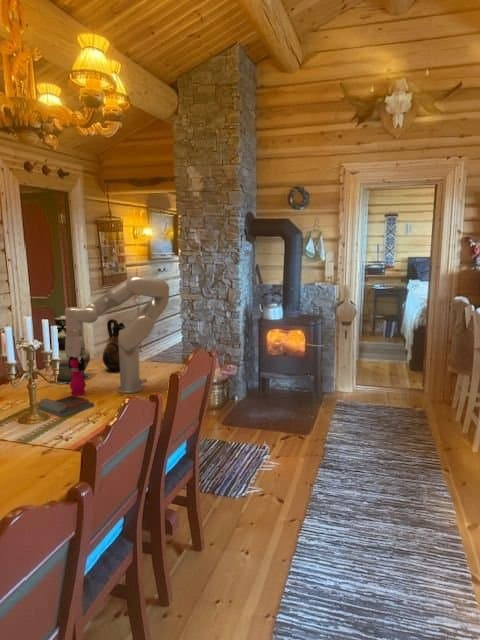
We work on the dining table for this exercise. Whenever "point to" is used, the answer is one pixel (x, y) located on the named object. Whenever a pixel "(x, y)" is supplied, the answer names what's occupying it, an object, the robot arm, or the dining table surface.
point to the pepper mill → (77, 379)
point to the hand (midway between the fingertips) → (76, 368)
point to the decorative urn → (64, 371)
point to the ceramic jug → (112, 347)
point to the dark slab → (65, 405)
